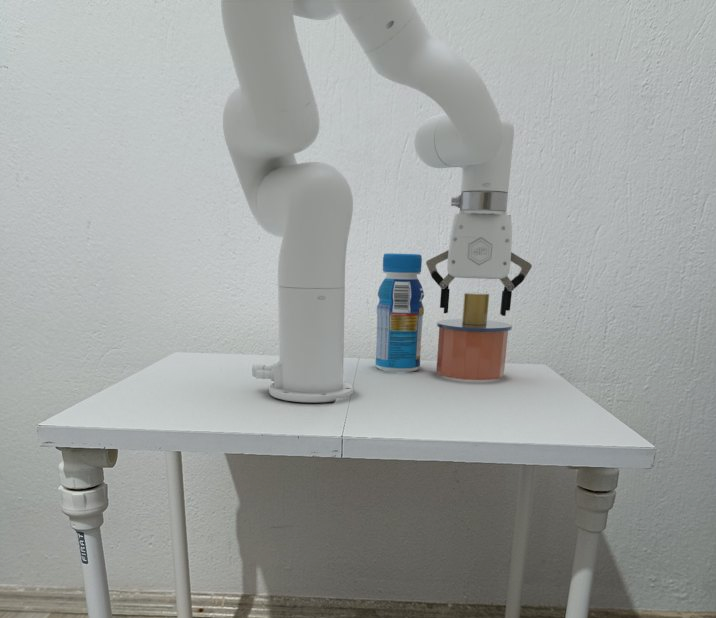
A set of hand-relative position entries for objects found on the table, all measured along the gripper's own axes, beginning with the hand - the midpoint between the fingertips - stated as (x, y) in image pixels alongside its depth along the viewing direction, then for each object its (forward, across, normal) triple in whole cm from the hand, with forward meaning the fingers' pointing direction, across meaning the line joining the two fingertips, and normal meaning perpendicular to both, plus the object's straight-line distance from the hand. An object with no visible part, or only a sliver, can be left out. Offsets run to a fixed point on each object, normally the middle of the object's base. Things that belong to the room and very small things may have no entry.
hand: (474, 313), depth 113 cm
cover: (+2, 0, 0) cm, 2 cm away
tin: (+11, 0, 0) cm, 11 cm away
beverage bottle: (+11, -13, +4) cm, 17 cm away
